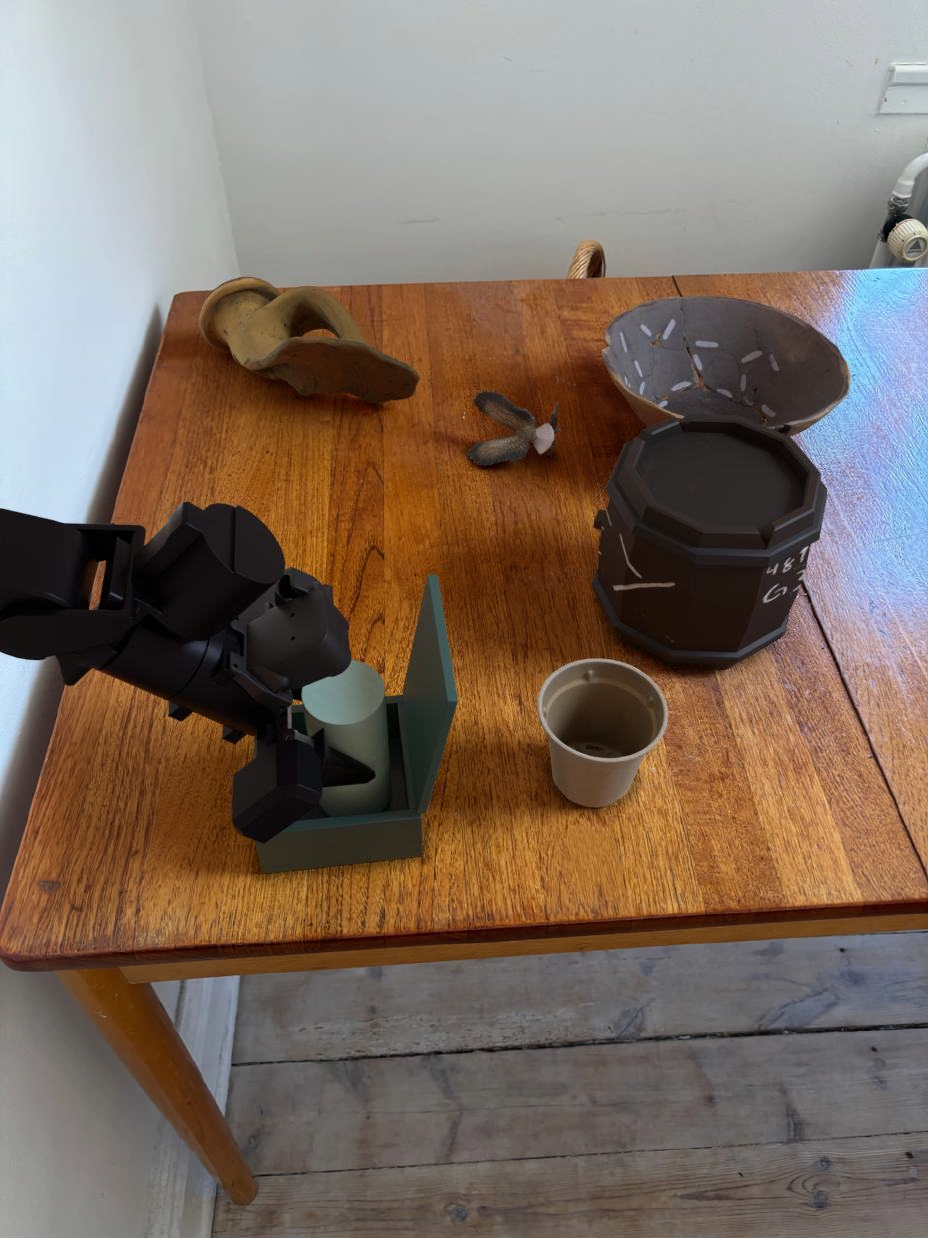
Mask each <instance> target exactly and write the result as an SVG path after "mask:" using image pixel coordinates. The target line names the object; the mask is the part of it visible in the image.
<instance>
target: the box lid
mask: <svg viewBox="0 0 928 1238" xmlns="http://www.w3.org/2000/svg"><path fill="white" fill-rule="evenodd" d="M438 575H439V574H435V573H434V574H432V573H429V574H427V577H426V581H425V586H424V590H423V595H422V599H421V604H420V607H419V613H418V617H417V622H416V627H415V631H414V635H413V640H412V645H411V650H410V654H409V659H408V662H407V668H406V673H405V676H404V681H403V686H402V690H401V691H402V695H403V700H404V708H405V717H406V725H407V734H408V743H409V751H410V760H411V768H412V777H413V786H414V794H415V803H416V811H417V814H421V815H426V814H427V812H428V809H429V807H430V806H429V805H430V802H431V799H432V795H433V792H434V787H435V786H436V785H435V784H436V781H437V778H438V773H439V770H440V767H441V763H442V760H443V756H444V753H445V748H446V747H447V746H446V745H447V742H448V738H449V734H450V731H451V728H452V724H453V720H454V717H455V713H456V711H457V710H456V709H457V707H458V703H459V699H458V698H459V697H458V691H457V686H456V679H455V673H454V667H453V661H452V655H451V649H450V644H449V643H450V642H449V638H448V637H449V636H448V630H447V625H446V619H445V612H444V606H443V600H442V594H441V588H440V582H439V576H438Z"/></svg>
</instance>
